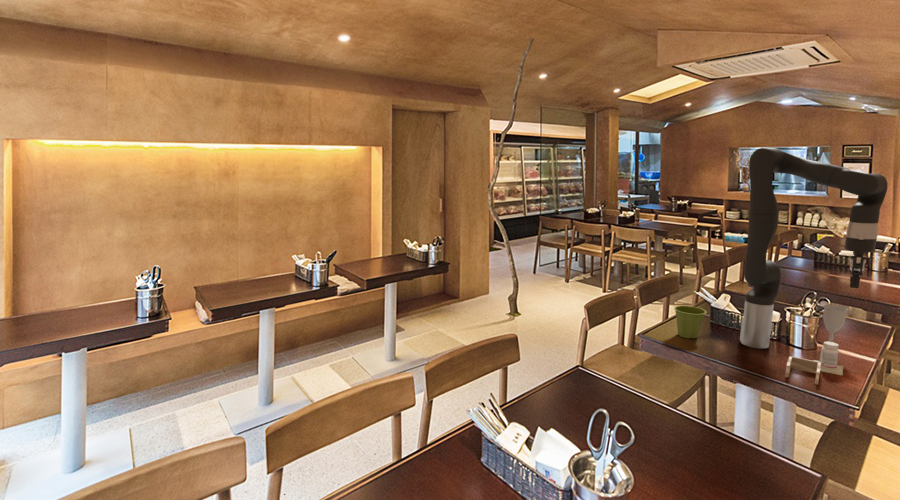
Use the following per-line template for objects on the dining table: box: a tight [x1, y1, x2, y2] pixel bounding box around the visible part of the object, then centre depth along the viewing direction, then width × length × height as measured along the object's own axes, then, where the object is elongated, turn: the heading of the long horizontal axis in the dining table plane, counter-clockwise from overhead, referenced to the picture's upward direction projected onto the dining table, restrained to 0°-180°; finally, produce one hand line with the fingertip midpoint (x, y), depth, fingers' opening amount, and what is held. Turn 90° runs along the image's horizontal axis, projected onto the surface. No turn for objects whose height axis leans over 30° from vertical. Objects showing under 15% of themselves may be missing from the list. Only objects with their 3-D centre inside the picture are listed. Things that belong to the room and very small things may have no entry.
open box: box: [784, 355, 821, 385], centre depth 155 cm, size 10×9×4 cm
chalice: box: [819, 304, 850, 354], centre depth 170 cm, size 7×7×18 cm
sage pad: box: [813, 359, 844, 377], centre depth 160 cm, size 8×8×1 cm
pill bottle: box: [819, 341, 840, 369], centre depth 159 cm, size 5×5×8 cm
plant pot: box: [673, 305, 707, 339], centre depth 191 cm, size 12×12×11 cm
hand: (854, 285), depth 153 cm, fingers open, 8 cm apart
